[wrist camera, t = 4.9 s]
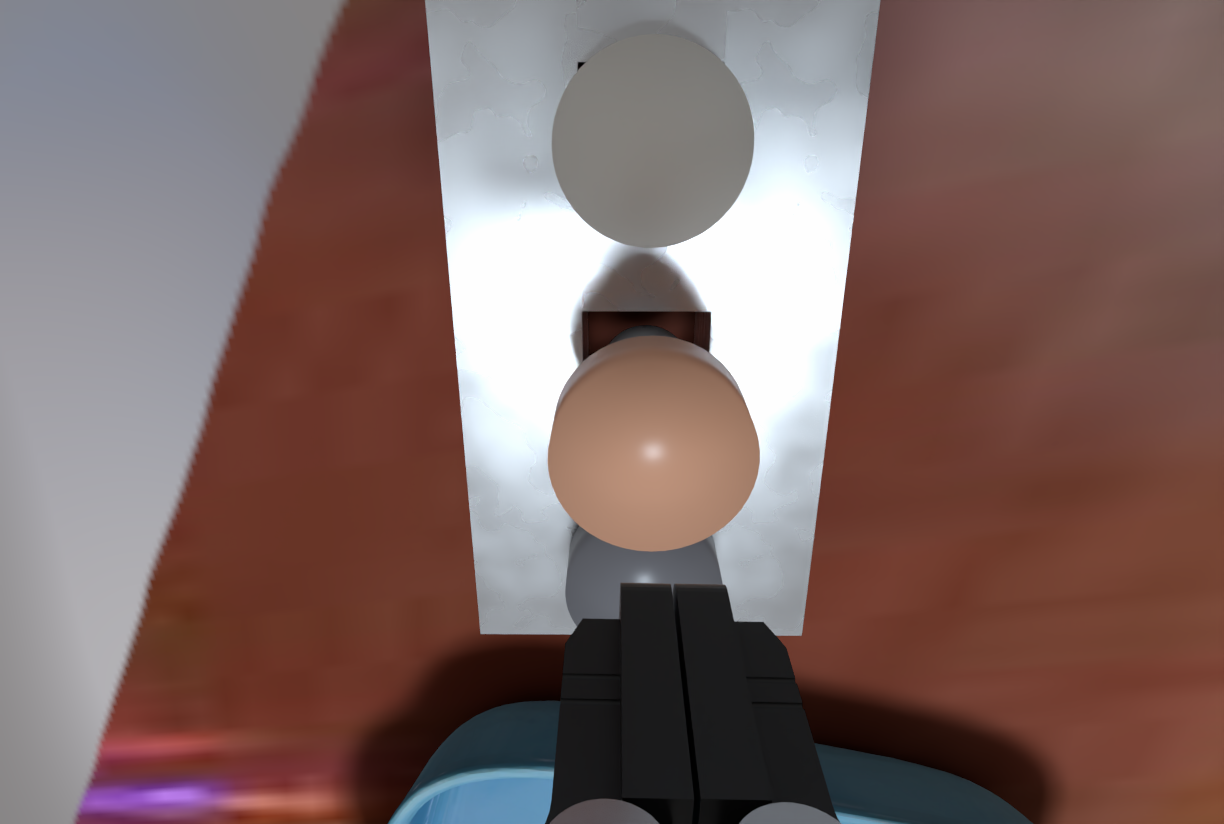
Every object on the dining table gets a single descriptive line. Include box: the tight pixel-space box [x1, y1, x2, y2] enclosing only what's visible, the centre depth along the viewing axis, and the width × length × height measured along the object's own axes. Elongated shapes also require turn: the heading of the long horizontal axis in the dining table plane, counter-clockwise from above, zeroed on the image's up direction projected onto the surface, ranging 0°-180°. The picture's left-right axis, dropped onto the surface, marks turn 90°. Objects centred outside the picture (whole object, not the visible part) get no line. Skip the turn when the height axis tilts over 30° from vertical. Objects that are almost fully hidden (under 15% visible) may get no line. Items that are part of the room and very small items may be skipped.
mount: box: [425, 0, 880, 636], centre depth 27 cm, size 12×21×5 cm, turn 0°
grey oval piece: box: [552, 34, 754, 248], centre depth 23 cm, size 5×5×7 cm
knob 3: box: [565, 526, 723, 626], centre depth 28 cm, size 5×5×7 cm
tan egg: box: [548, 325, 760, 552], centre depth 22 cm, size 5×5×7 cm
